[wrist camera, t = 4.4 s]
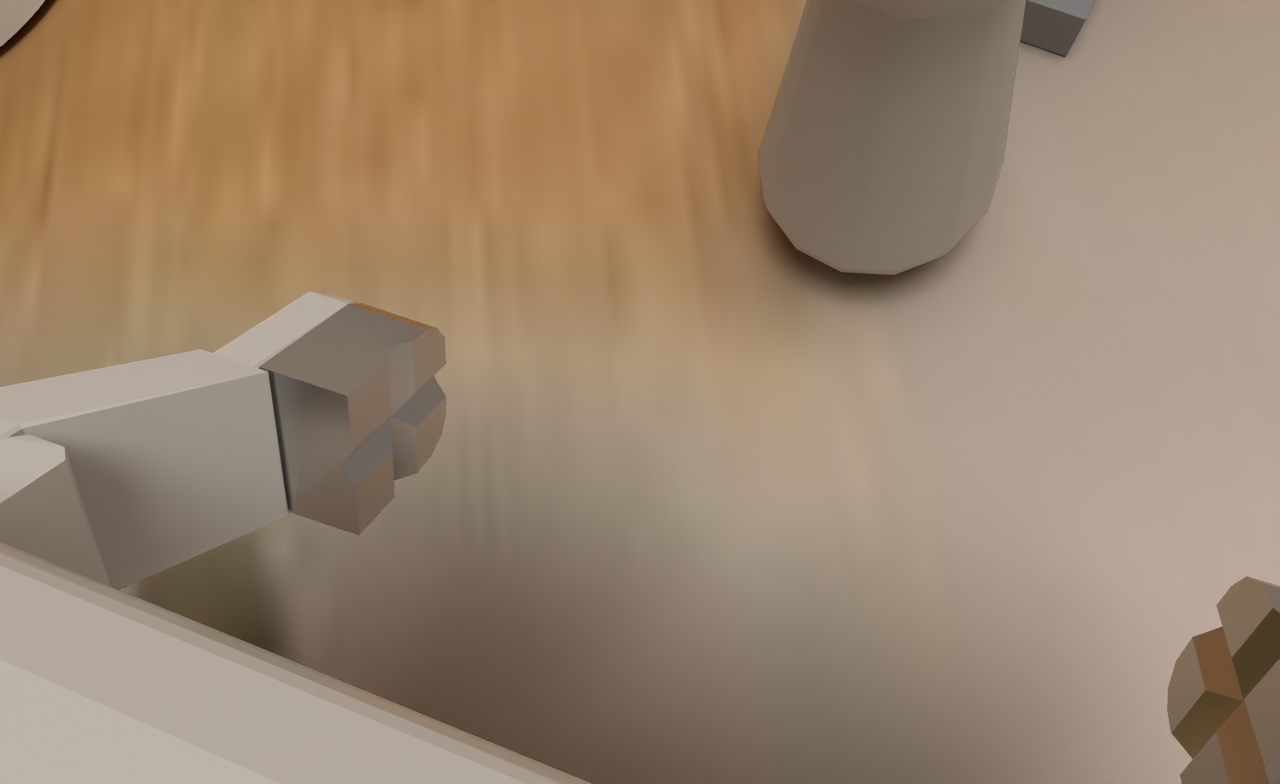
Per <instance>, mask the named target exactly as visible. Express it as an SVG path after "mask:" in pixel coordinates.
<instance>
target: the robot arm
mask: <svg viewBox="0 0 1280 784" xmlns="http://www.w3.org/2000/svg"><path fill="white" fill-rule="evenodd" d="M44 1H45V0H0V47H1V46H2V45H3V44H4V43H5V42H7V41H8V40H9V39H10V38H11V37H12V36H13V35H14V34H15V33H16V32H17V31H18V30H19V29H20V28H21V27H22V26H23V25H24V24H25V23H26V22H27V21H28V20H29V19H30V18H31V17H32V16H33V15H34V13H35V12H36V11H37V10H38V9H39V8H40V6H41V5H42V4H43V3H44ZM445 364H446V354H445V338H444V336H443V335H442V334H441V332H440V331H439V330H438V329H437V328H435V327H432V326H429V325H426V324H423V323H420V322H417V321H414V320H411V319H408V318H405V317H402V316H399V315H396V314H393V313H389V312H386V311H383V310H380V309H377V308H374V307H371V306H368V305H365V304H362V303H357V302H355V301H353V300H350V299H346V298H343V297H340V296H336V295H333V294H330V293H326V292H323V291H309V292H308V293H306V294H305V295H303V296H302V297H300V298H298V299H297V300H295V301H294V302H292V303H291V304H289V305H287V306H286V307H284V308H283V309H281V310H280V311H278V312H276V313H275V314H273V315H272V316H270V317H269V318H267V319H266V320H264V321H262V322H261V323H259V324H258V325H256V326H255V327H253V328H251V329H250V330H248V331H247V332H245V333H244V334H242V335H240V336H239V337H237V338H236V339H234V340H233V341H231V342H230V343H228V344H226V345H225V346H223V347H222V348H220V349H219V350H217V351H215V352H214V353H211V352H208V351H204V350H201V349H199V350H194V351H189V352H183V353H178V354H173V355H167V356H162V357H157V358H152V359H146V360H141V361H136V362H131V363H125V364H120V365H115V366H109V367H104V368H99V369H94V370H88V371H83V372H78V373H72V374H67V375H62V376H57V377H51V378H46V379H41V380H36V381H30V382H25V383H20V384H14V385H9V386H4V387H0V784H592V783H589V782H587V781H584V780H582V779H580V778H577V777H575V776H572V775H570V774H567V773H565V772H562V771H560V770H558V769H555V768H553V767H550V766H548V765H545V764H543V763H540V762H538V761H536V760H533V759H531V758H528V757H526V756H523V755H521V754H518V753H516V752H514V751H511V750H509V749H506V748H504V747H501V746H499V745H496V744H494V743H492V742H489V741H487V740H484V739H482V738H479V737H477V736H474V735H472V734H470V733H467V732H465V731H462V730H460V729H457V728H455V727H452V726H450V725H448V724H445V723H443V722H440V721H438V720H435V719H433V718H431V717H428V716H426V715H423V714H421V713H418V712H416V711H413V710H411V709H409V708H406V707H404V706H401V705H399V704H396V703H394V702H391V701H389V700H387V699H384V698H382V697H379V696H377V695H374V694H372V693H369V692H367V691H365V690H362V689H360V688H357V687H355V686H352V685H350V684H347V683H345V682H343V681H340V680H338V679H335V678H333V677H330V676H328V675H326V674H323V673H321V672H318V671H316V670H313V669H311V668H308V667H306V666H304V665H301V664H299V663H296V662H294V661H291V660H289V659H286V658H284V657H282V656H279V655H277V654H274V653H272V652H269V651H267V650H264V649H262V648H260V647H257V646H255V645H252V644H250V643H247V642H245V641H242V640H240V639H238V638H235V637H233V636H230V635H228V634H225V633H223V632H220V631H218V630H215V629H213V628H211V627H208V626H206V625H203V624H201V623H198V622H196V621H193V620H191V619H189V618H186V617H184V616H181V615H179V614H176V613H174V612H171V611H169V610H166V609H164V608H162V607H159V606H157V605H154V604H152V603H149V602H147V601H144V600H142V599H139V598H137V597H135V596H132V595H130V594H127V593H125V592H122V591H120V589H122V588H124V587H126V586H129V585H131V584H133V583H136V582H138V581H140V580H142V579H145V578H147V577H149V576H152V575H154V574H156V573H159V572H161V571H163V570H165V569H168V568H170V567H172V566H175V565H177V564H179V563H181V562H184V561H186V560H188V559H191V558H193V557H195V556H197V555H200V554H202V553H204V552H207V551H209V550H211V549H214V548H216V547H218V546H220V545H223V544H225V543H227V542H230V541H232V540H234V539H236V538H239V537H241V536H243V535H246V534H248V533H250V532H253V531H255V530H257V529H259V528H262V527H264V526H266V525H269V524H271V523H273V522H275V521H278V520H280V519H282V518H285V517H287V516H288V515H289V512H291V513H294V514H297V515H300V516H303V517H306V518H309V519H312V520H315V521H318V522H321V523H324V524H327V525H330V526H333V527H336V528H339V529H342V530H345V531H348V532H351V533H354V534H357V535H360V534H361V532H362V531H363V530H364V529H365V528H366V527H367V526H368V525H369V524H370V523H371V522H372V521H373V520H374V519H375V517H376V516H377V515H378V514H379V513H380V512H381V511H382V510H383V509H384V508H385V507H386V506H387V505H388V503H389V502H390V501H391V500H392V499H393V498H394V480H397V479H400V478H403V477H406V476H409V475H412V474H415V473H417V472H418V471H419V470H420V469H421V467H422V466H423V465H424V464H425V463H426V462H427V461H428V459H429V458H430V457H431V455H432V453H433V451H434V449H435V447H436V445H437V443H438V441H439V439H440V437H441V435H442V430H443V426H444V421H445V416H446V396H445V394H444V392H443V391H442V389H441V387H440V386H439V384H438V383H437V381H436V379H435V377H434V375H435V374H436V373H437V372H438V371H439V370H440V369H441V368H442V367H443V366H444V365H445ZM1217 608H1218V612H1219V616H1220V619H1221V623H1222V627H1220V628H1217V629H1215V630H1212V631H1209V632H1206V633H1203V634H1200V635H1197V636H1194V637H1192V639H1191V640H1190V642H1189V643H1188V645H1187V646H1186V647H1185V649H1184V650H1183V652H1182V653H1181V655H1180V656H1179V658H1178V659H1177V661H1176V663H1175V667H1174V670H1173V673H1172V677H1171V680H1170V683H1169V686H1168V704H1167V711H1168V717H1169V722H1170V728H1171V733H1172V734H1173V736H1174V737H1175V738H1176V739H1177V740H1178V742H1179V743H1180V744H1181V745H1182V746H1183V748H1184V749H1185V750H1186V751H1187V752H1188V754H1189V755H1190V756H1191V757H1192V759H1193V760H1192V761H1191V762H1190V763H1189V765H1188V766H1187V767H1186V768H1185V769H1184V771H1183V772H1182V773H1181V774H1180V777H1181V782H1182V784H1280V586H1278V585H1275V584H1271V583H1268V582H1264V581H1261V580H1257V579H1254V578H1251V577H1247V576H1246V577H1245V578H1243V579H1242V580H1240V581H1239V582H1237V583H1236V584H1234V585H1233V586H1231V587H1230V589H1229V590H1228V591H1227V592H1226V594H1225V595H1224V596H1223V598H1222V599H1221V600H1220V601H1219V603H1218V604H1217Z"/></svg>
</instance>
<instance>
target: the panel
mask: <svg viewBox="0 0 1280 784" xmlns="http://www.w3.org/2000/svg"><path fill="white" fill-rule="evenodd" d="M1094 2H1095V0H1026V3H1025V11H1024V18H1023V25H1022V32H1021V39H1020V41H1022V42H1025V43H1028V44H1031V45H1034V46H1037V47H1040V48H1043V49H1045V50H1048V51H1051V52H1054V53H1057V54H1060V55H1063V56H1066V55H1067V53H1068V51H1069V49H1070V48H1071V46H1072V44H1073V42H1074V40H1075V38H1076V37H1077V35H1078V33H1079V31H1080V29H1081V27H1082V26H1083V24H1084V22H1085V20H1086V18H1087V16H1088V14H1089V12H1090V10H1091V8H1092V6H1093V4H1094Z"/></svg>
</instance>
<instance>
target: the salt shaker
mask: <svg viewBox="0 0 1280 784" xmlns="http://www.w3.org/2000/svg"><path fill="white" fill-rule="evenodd" d="M1025 3H1026V0H807V2H806V5H805V8H804V11H803V15H802V18H801V21H800V24H799V27H798V31H797V34H796V37H795V40H794V43H793V47H792V50H791V53H790V56H789V59H788V63H787V66H786V69H785V72H784V75H783V79H782V82H781V85H780V88H779V91H778V95H777V98H776V101H775V104H774V107H773V110H772V113H771V116H770V119H769V122H768V125H767V128H766V131H765V134H764V137H763V140H762V143H761V146H760V149H759V152H758V161H759V168H760V175H761V183H762V190H763V197H764V203H765V205H766V208H767V210H768V212H769V213H770V214H771V216H772V217H773V218H774V220H775V221H776V222H777V224H778V225H779V226H780V228H781V229H782V230H783V232H784V233H785V234H786V236H787V237H788V238H789V240H790V241H791V242H792V244H793V245H794V247H795V248H796V249H798V250H799V251H801V252H803V253H805V254H807V255H809V256H811V257H813V258H815V259H817V260H819V261H821V262H823V263H825V264H826V265H828V266H830V267H832V268H834V269H836V270H838V271H840V272H849V273H867V274H885V275H895V274H898V273H901V272H903V271H906V270H909V269H911V268H914V267H917V266H919V265H922V264H925V263H927V262H930V261H933V260H935V259H938V258H941V257H943V256H945V255H946V254H947V253H948V252H949V251H950V250H951V249H952V248H953V247H954V246H955V245H956V244H957V243H958V242H959V241H960V240H961V239H962V238H963V237H964V236H965V235H966V234H967V233H968V231H969V230H970V229H971V228H972V227H973V226H974V225H975V224H976V223H977V222H978V221H979V220H980V219H981V218H982V217H983V216H984V215H985V214H986V213H987V212H988V208H989V205H990V202H991V199H992V196H993V193H994V190H995V186H996V183H997V180H998V177H999V174H1000V171H1001V167H1002V164H1003V159H1004V152H1005V145H1006V138H1007V131H1008V124H1009V117H1010V110H1011V103H1012V96H1013V88H1014V81H1015V74H1016V67H1017V60H1018V53H1019V46H1020V39H1021V32H1022V25H1023V18H1024V11H1025Z"/></svg>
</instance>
